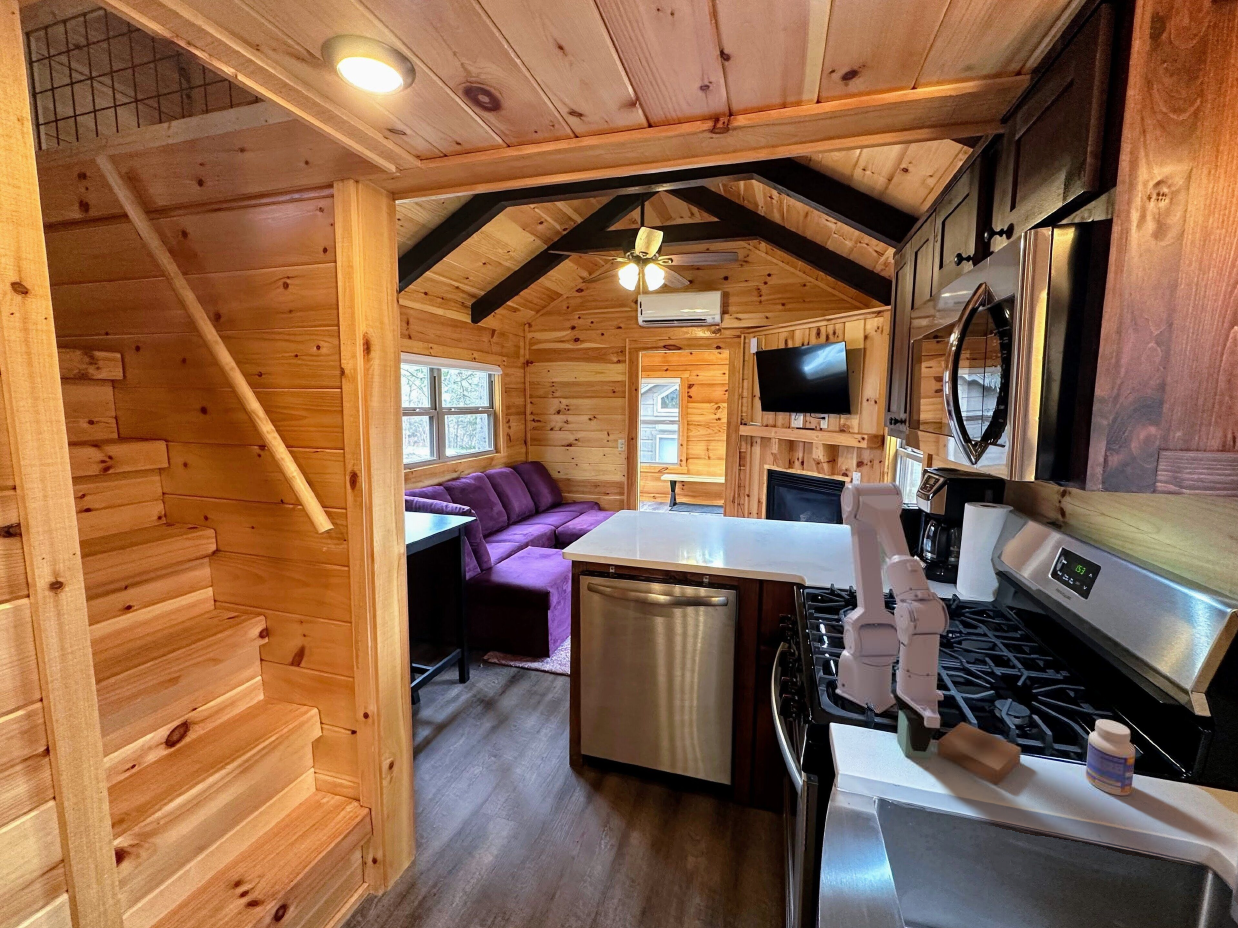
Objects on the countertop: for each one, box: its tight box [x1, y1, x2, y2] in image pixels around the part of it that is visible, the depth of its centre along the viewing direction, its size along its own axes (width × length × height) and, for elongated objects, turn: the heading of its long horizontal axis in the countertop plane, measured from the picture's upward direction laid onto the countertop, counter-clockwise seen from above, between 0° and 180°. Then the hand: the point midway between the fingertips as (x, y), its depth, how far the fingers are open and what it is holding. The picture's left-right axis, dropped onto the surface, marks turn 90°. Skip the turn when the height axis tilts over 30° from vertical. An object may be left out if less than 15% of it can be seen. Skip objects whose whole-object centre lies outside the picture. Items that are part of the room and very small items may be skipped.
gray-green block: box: [896, 710, 933, 760], centre depth 93 cm, size 4×4×6 cm
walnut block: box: [936, 721, 1022, 786], centre depth 90 cm, size 9×9×3 cm
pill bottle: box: [1085, 718, 1136, 796], centre depth 84 cm, size 5×5×10 cm
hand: (913, 741), depth 93 cm, fingers open, 4 cm apart
